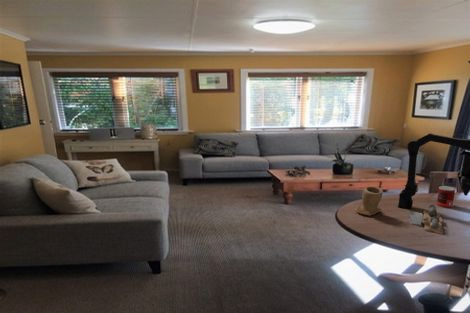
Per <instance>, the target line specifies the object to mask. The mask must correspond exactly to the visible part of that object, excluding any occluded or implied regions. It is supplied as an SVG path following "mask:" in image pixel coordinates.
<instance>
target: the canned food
mask: <svg viewBox="0 0 470 313" xmlns="http://www.w3.org/2000/svg"><path fill="white" fill-rule="evenodd" d="M437 190H438V192H437V200H436V205H437V206H438V207H441V208H447V209H449V208H450V209H451V208H452V207H453V204H454V200H455V193H456V188H454V187H452V186H447V185H441V186H439V187H438V189H437Z"/></svg>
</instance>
